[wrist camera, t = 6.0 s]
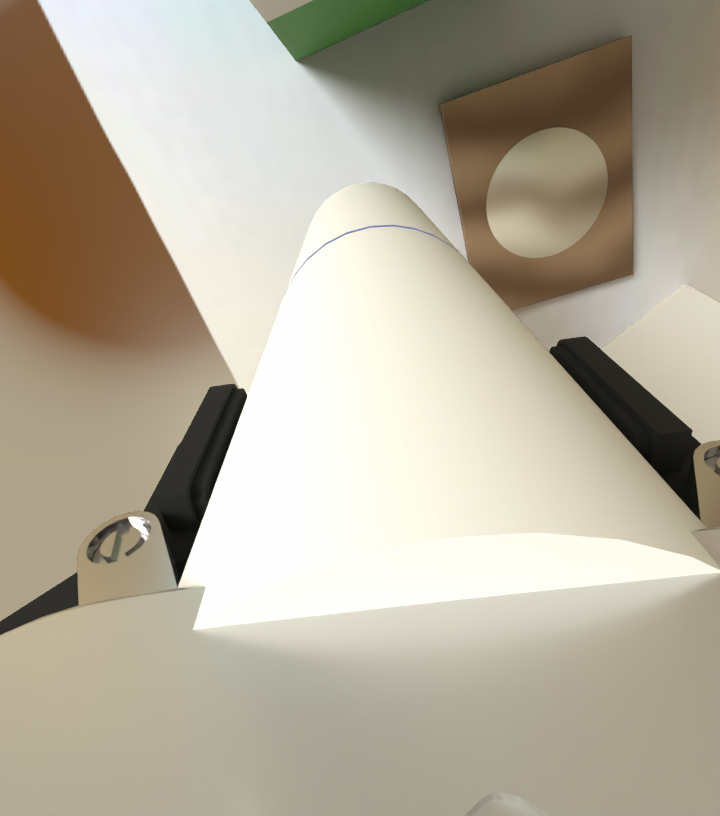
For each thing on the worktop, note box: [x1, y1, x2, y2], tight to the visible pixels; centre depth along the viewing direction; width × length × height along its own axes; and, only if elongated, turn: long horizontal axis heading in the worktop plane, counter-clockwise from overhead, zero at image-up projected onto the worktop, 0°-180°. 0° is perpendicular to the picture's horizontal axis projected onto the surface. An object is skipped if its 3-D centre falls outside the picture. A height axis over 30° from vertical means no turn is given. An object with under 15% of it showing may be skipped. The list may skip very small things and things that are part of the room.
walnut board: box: [439, 36, 633, 310], centre depth 39 cm, size 18×14×1 cm
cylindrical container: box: [178, 182, 720, 630], centre depth 16 cm, size 7×7×25 cm
